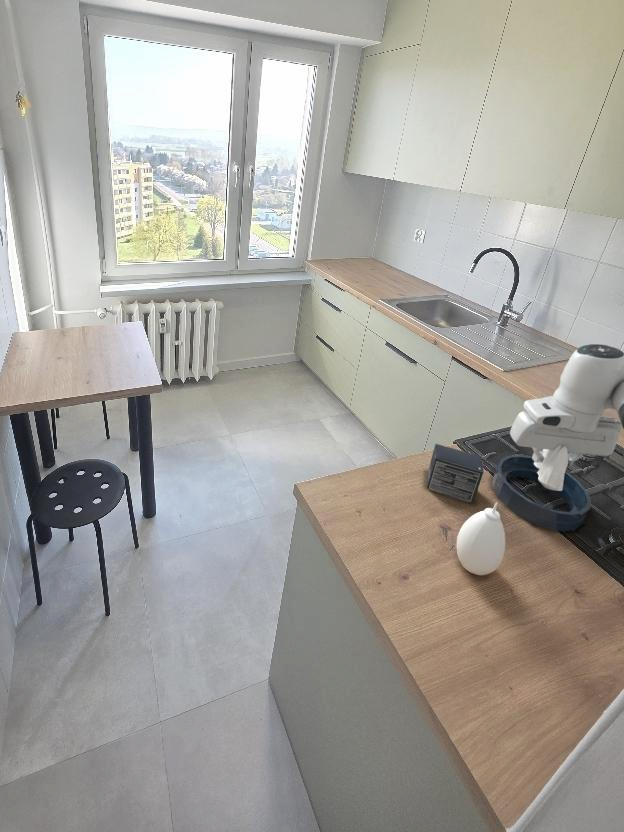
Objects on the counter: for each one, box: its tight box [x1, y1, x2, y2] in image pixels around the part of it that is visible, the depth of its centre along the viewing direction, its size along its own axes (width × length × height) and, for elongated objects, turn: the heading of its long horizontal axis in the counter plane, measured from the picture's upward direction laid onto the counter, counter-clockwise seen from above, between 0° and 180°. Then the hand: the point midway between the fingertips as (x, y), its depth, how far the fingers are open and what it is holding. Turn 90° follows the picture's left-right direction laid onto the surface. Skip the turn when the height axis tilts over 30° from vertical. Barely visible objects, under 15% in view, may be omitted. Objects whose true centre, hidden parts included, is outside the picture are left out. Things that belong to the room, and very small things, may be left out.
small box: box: [426, 443, 485, 504], centre depth 101 cm, size 11×6×10 cm, turn 66°
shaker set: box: [534, 445, 569, 492], centre depth 96 cm, size 12×4×11 cm, turn 152°
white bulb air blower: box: [456, 501, 506, 576], centre depth 81 cm, size 8×8×18 cm
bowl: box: [491, 454, 592, 532], centre depth 100 cm, size 18×18×6 cm
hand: (550, 462), depth 96 cm, fingers closed on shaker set, 5 cm apart
